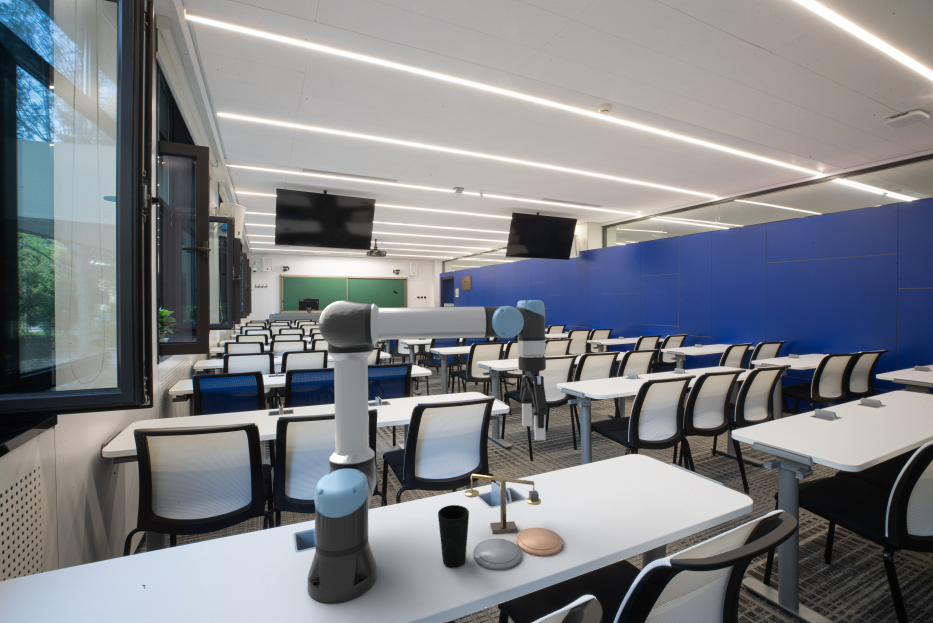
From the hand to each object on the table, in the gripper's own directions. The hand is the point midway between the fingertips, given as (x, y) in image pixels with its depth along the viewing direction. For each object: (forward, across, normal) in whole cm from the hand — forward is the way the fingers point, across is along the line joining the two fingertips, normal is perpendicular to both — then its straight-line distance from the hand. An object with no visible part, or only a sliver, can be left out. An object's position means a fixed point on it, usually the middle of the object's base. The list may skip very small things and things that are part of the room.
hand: (533, 432), depth 111 cm
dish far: (+28, -4, 0) cm, 28 cm away
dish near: (+28, -8, +12) cm, 32 cm away
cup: (+28, -10, +23) cm, 38 cm away
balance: (+28, +4, +8) cm, 29 cm away
